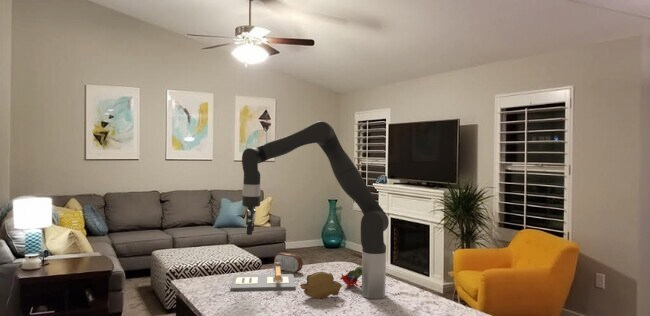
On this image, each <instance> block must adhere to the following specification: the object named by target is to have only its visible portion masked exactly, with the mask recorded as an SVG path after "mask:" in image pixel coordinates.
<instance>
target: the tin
mask: <svg viewBox="0 0 650 316" xmlns="http://www.w3.org/2000/svg"><path fill="white" fill-rule="evenodd" d="M273 259H274V260H273V261H274V262H273V264H274V263H275V262H281V272H286V273H290V274H296V273H299V272H301V270H302V269H303V266H304V265H303V260H302V259H303V258H302V257H301V256H300V255H298V254H296V253H290V252H284V251H281V252H279V253H277V254H276V255H275V256H274V258H273Z"/></svg>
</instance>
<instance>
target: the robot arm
mask: <svg viewBox="0 0 650 316" xmlns="http://www.w3.org/2000/svg"><path fill="white" fill-rule="evenodd" d="M309 144H310V145H311V144H317V145H318V146H319V147H320V148H321V150H322V151H323V152H324V154H325V155H326V157H327V160H328V161H329V163H330V164H329V165H330V166H331V170H332V172H333V174H334V177H335V179H336V180H337V182H338V184H339V185H340V187H341V189H342V190H343V192H345V194H346V195H347V196H348V197H349V198H350V199H352V200H353V201H354V202H355V203H356V204H357V206H358V208H359V209H360V211H361V212H362V214H363V215H362V216H361V221H360V244H361V249H362V253H361V255H362V256H361V257H362V258H361V266H362V275H361V286H362V287H361V296H362V297H364V298H365V299H368V300H370V299H372V300H373V299H374V300H375V299H376V300H378V299H384V298H385V297H386V276H387V275H386V272H387V271H386V269H387V267H386V266H387V245H386V244H385V242H384V241H385V239H384V232H385V231H386V230H387V229H388V227H389V223H390V221H389V217H388V215H387V214H386V212H385V211H384V209H383V208H382V207H381V205H379V203H378V201H377V200H376V198H374V196H373V194H372V192H371V191H370V189H369V187H368V185H367V184H366V182H365V180H364V178H363V177H362V174H361V173H360V172H359V170H358V167H357V166H356V165H355V164H354V162H353V160H352V159H351V157H350V156H349V155H348V153H346V151H345V150H344V149H343V146H342V144H341V143H340V141H339V139H338V136H337V134H336V132H335V130H334V128H333V127H332V125H330V124H329V123H327V122H326V121H323V120H320V121H316V122H314V123H312V124H310V125H308V126H306V127H305V128H302V129H300V130H298V131H297V132H293V133H292V134H288V135H286V136H282V137H279V138H277V139H274V140H271V141H268V142H266V143H264V144H263V145H260V146H255V147H248V148H245V150H243V152H242V154H241V164H242V170H243V185H242V201H241V202H242V203H241V204H242V207H247V209H246V211H245V221H246V222H245V224H246V235H247V236H252V235H253V232H254V230H255V221H256V216H257V215H256V214H257V210H256V208H257V207H260V206H261V191H262V190H261V172H260V171H259V166H258V165H259V164H261V163H264V162H266V161H268V160H271V159H274V158H277V157H281V156H284V155H287V154H289V153H291V152H292V151H295V150H296V149H298V148H300V147H304V146H306V145H309Z"/></svg>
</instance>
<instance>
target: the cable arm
mask: <svg viewBox="0 0 650 316" xmlns="http://www.w3.org/2000/svg"><path fill="white" fill-rule="evenodd" d="M273 270H274V272H275V271H276V280H281V274H282V271H281V262H275V263H274V262H273Z"/></svg>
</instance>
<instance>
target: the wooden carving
mask: <svg viewBox="0 0 650 316" xmlns="http://www.w3.org/2000/svg"><path fill="white" fill-rule="evenodd" d="M299 286H300V288H301V289H302V290H303V293H304V295H306V296H307V297H310V298H313V299H325V298H328V297H329V296H331V295H332V296H338V295H339V294H340V290H341V288H342V287H343V284H341V282H339V281H337V280H335V278H334V276H333V273H331V272H329V273H328V272H325V271H318V272H314V273H311V274H308V275H307V276H306V283H301V284H300V285H299Z"/></svg>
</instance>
